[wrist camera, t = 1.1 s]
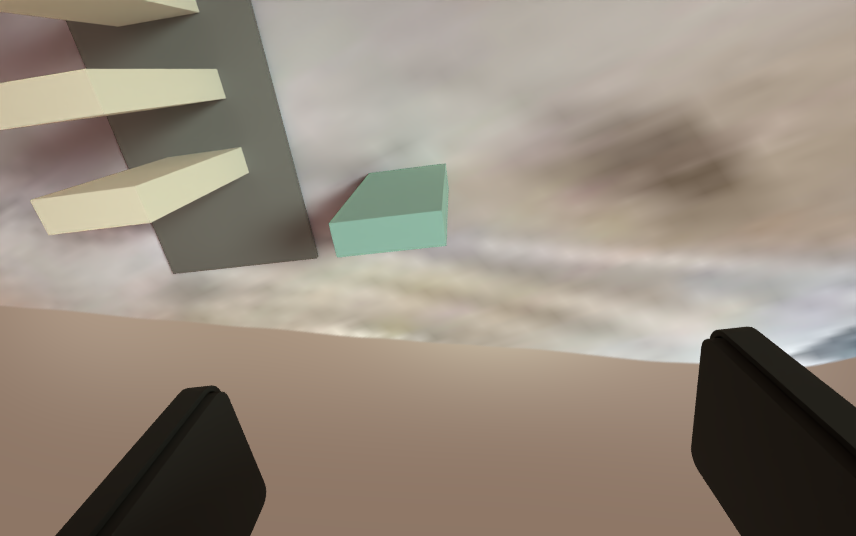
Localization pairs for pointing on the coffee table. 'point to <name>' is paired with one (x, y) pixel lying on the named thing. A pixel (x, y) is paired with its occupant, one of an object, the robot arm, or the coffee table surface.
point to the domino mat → (211, 135)
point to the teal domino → (394, 212)
